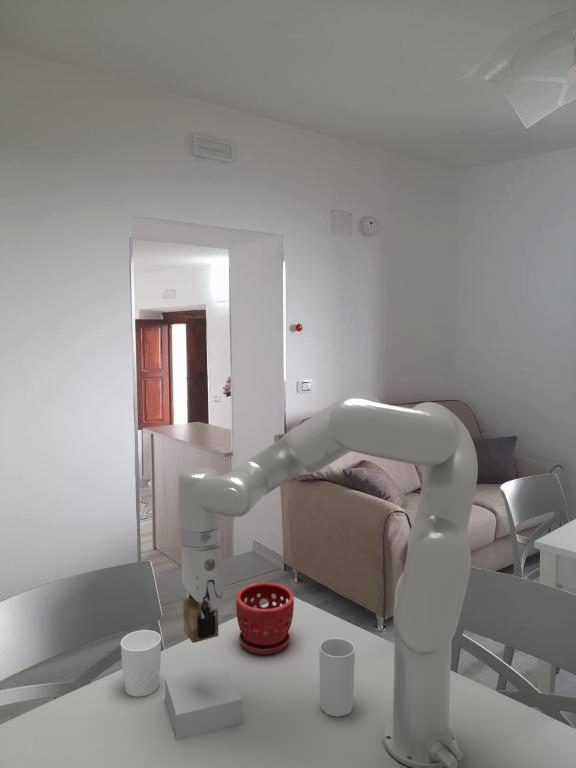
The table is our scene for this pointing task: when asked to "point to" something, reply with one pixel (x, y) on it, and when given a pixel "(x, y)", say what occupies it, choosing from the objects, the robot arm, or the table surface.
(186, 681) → the grey block
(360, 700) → the table surface
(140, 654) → the white cup
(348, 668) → the mug
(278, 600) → the plant pot
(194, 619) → the walnut block
